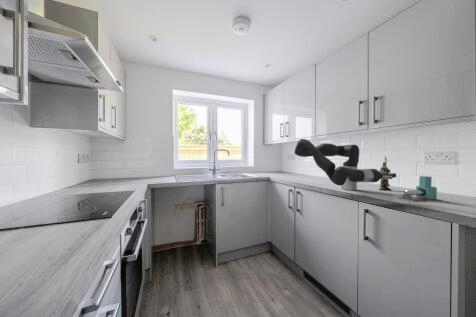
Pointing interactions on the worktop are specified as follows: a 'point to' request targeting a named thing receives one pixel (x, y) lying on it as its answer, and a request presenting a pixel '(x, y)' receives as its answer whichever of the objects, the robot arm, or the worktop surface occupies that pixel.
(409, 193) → the pipe
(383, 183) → the figurine
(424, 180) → the sleeve
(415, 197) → the board
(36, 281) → the worktop surface
